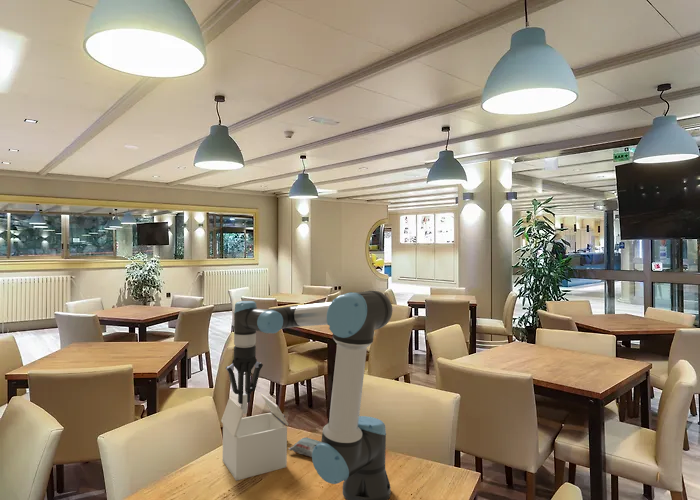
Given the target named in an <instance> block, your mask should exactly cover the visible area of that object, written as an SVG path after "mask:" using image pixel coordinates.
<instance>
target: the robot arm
mask: <svg viewBox="0 0 700 500" xmlns="http://www.w3.org/2000/svg"><path fill="white" fill-rule="evenodd" d="M233 315H234V320H233V323H234V324H233V327H234V328H233V330H234V331H233V344H234V347H233V359H232V363H231V364H230V365H227V366H226V367H225V369H226V371H227V373H228V376H229V380H230V385H231V389H232V392H233V393H234V394H235V395H238V397H237V403H238V405H240V407H241V408H242V409H243V410H244V413H243V415H244V414H248V403H250V401H251V394H252V392H255V391H256V390H257V385H258V380H259V375H260V372H261V369H262V368H263V366H264V364H263V362H259V361H258V359H257V357H256V355H257V354H256V353H257V352H256V350H257V348H256V344H257V332H260V333H265V334H277V333H278V332H279V331H281V330H284V329H289V328H299V327H310V326H311V327H312V326H325V325H326V326H329V327H328V328H329V331H330V332H331V333H332V339H333V341H334V342H335V343H336V353H335V359H334V361H335V362H334V371H333V378H332V379H333V381H332V390H331V399H330V407H329V408H330V409H329V416H328V417H329V418H328V419H329V420H328V422H327V424H325V425H324V426H323V428H322V433H321V439H320V441H321V443H318V444H317V445H316V446H315V447H314V449H313V451H312V457H311V460H312V464H313V467H314V469H315V471H316V473H317V474H318V476H319V477H320V478H321V479H322V480H323V481H325V482H326V483H328V484H331V485H337V484H339V483H342V482H343V483H342V495H343V498H344V499H345V500H390V497H391V494H392V493H391V491H392V490H391V489H392V488H391V484H390V480H389V476H388V474H387V470H386V449H387V448H386V445H387V444H386V441H387V438H386V436H387V431H386V424H385V423H384V422H383V420H381V419H379V418H376V417H373V416H367V415H360V413H361V412H360V411H361V406H362V405H361V402H362V395H363V387H364V386H363V385H364V377H365V370H366V369H365V368H366V359H367V352H368V351H367V349H368V347H369V346H371V345H372V344H373V343H374V336H375V331H376V330H379V329H382V328H384V327H385V326H386V325H387V324H388V323H389V322H390V320H391V319H392V315H393V304H392V302H391V300H390V298H389V296H387V295H386V294H385V293H384V292H383V293H382V292H381V291H378V290H367V291H356V292H347V293H344V294H343V293H342V294H340V295H337V297H335V298H334V299H332V300H331V301H326V302H317V303H315V302H314V303H308V304H300V305H297V304H296V305H290V306H289V305H288V306H283V307H275V308H268V309H263V308H258V305H257V302H256V301H254V300H240V301H237V302H235V304H234V311H233ZM253 369H254V370H253ZM234 370H236V371H237V380H236V376H235V373H234ZM252 370H253V374H252Z"/></svg>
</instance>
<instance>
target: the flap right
mask: <svg viewBox="0 0 700 500" xmlns="http://www.w3.org/2000/svg"><path fill="white" fill-rule="evenodd" d="M260 395H261V397H262V399H263V401H264V402H265V404H266V405H267V407H268V409H269V411H270V413H271V412H272V413H273V414H274V415H275V416H277V417H278V418H279V419H280V420H281V421H282V422H284V423H285V426H286V427H288V426H289V422H288V421H287V419H286V416H285V417H284V416H283V414H284V413H282V410H281V409H280V407H279V405H278V404H276V403H275V402H274V401H272V400H271V399H270V398H269V397H268V396H266V395H265V394H263V393H261V394H260Z"/></svg>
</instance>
